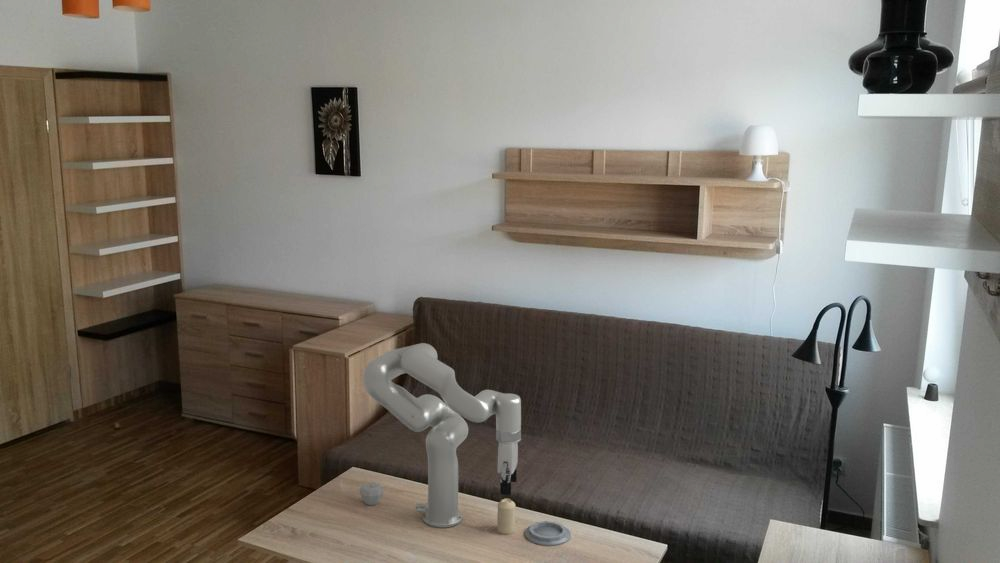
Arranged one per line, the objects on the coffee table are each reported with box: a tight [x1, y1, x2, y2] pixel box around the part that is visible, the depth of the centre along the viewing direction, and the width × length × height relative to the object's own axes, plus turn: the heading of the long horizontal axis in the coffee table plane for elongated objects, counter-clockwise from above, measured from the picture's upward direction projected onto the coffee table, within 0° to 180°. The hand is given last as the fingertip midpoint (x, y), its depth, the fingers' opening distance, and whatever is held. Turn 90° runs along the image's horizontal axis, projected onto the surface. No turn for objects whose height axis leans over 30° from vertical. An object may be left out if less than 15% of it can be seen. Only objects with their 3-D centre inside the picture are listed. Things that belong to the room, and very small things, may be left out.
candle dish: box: [524, 520, 571, 547], centre depth 254 cm, size 14×14×2 cm
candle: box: [496, 497, 516, 535], centre depth 256 cm, size 6×6×10 cm
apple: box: [359, 481, 384, 506], centre depth 274 cm, size 8×8×7 cm
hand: (508, 487), depth 254 cm, fingers open, 9 cm apart
